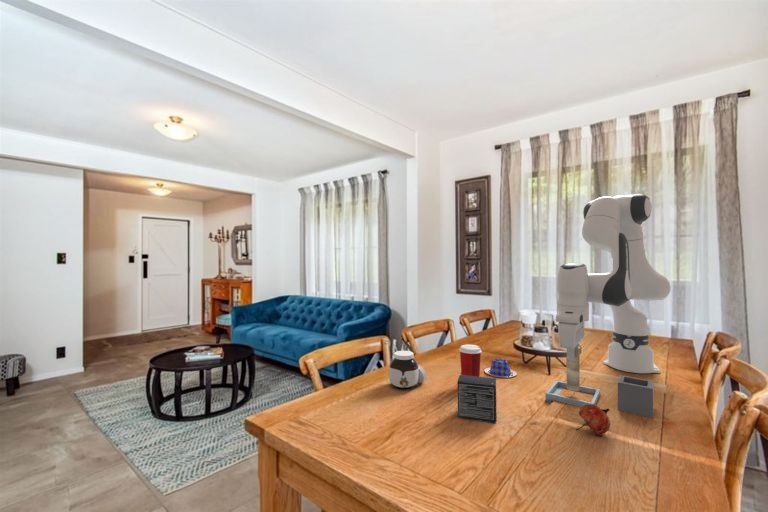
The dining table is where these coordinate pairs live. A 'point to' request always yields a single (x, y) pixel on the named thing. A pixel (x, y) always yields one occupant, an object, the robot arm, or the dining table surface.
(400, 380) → the spread jar
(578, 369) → the maple dowel
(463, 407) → the small box
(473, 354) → the paper cup
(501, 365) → the pudding
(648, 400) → the grey open-top box
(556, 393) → the slate tray
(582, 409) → the pomegranate
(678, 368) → the dining table surface
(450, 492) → the dining table surface
